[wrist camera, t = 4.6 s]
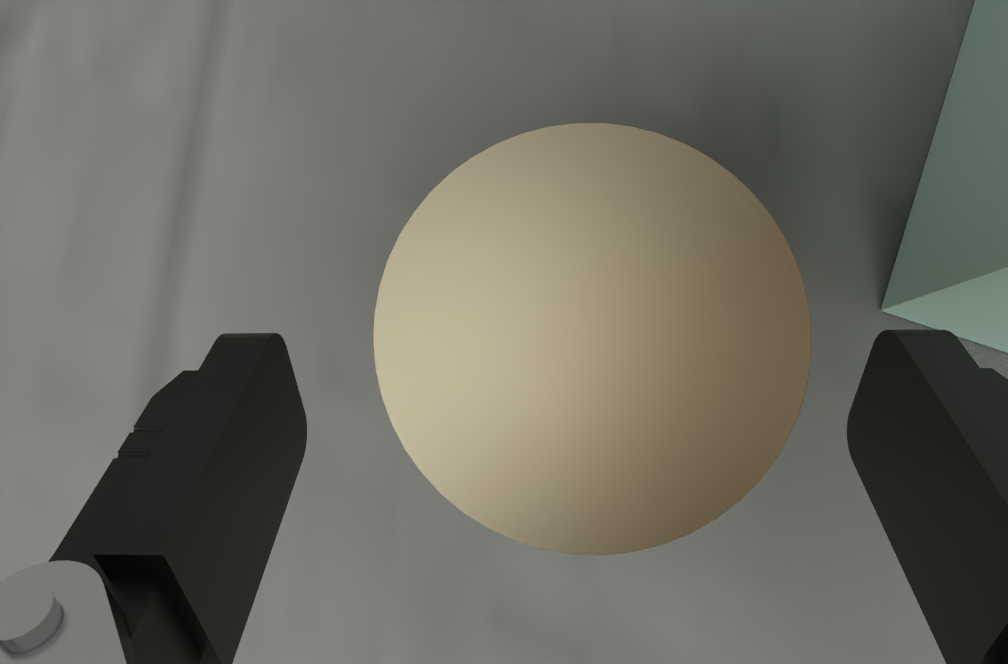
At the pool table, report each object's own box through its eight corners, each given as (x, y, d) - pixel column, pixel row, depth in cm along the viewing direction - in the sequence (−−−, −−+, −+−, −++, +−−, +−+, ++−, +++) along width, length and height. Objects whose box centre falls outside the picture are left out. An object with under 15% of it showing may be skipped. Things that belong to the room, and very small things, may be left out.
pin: (454, 440, 16) (310, 461, 6) (510, 288, 16) (460, 70, 6) (610, 497, 15) (733, 622, 6) (663, 341, 16) (865, 199, 6)
